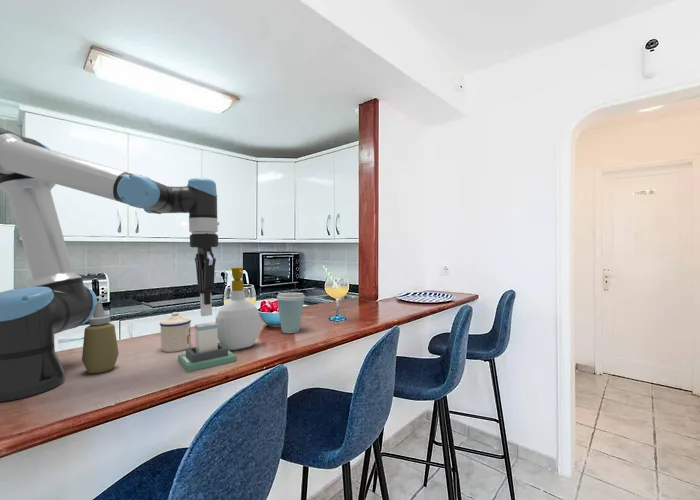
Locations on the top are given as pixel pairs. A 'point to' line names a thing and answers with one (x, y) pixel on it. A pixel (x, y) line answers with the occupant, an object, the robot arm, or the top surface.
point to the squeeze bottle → (99, 343)
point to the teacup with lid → (175, 333)
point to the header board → (206, 358)
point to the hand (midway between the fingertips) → (206, 315)
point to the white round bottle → (237, 317)
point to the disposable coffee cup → (290, 311)
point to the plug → (206, 337)
